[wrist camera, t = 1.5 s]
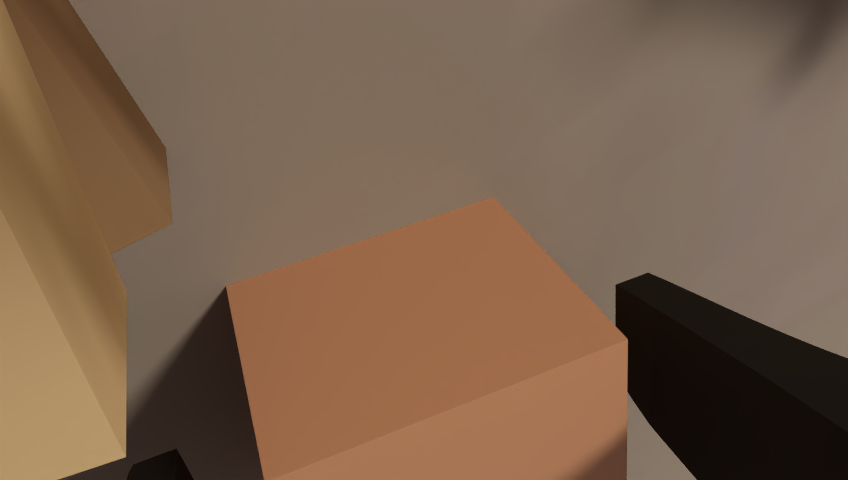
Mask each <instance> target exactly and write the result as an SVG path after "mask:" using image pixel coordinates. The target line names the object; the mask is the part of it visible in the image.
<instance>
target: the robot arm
mask: <svg viewBox="0 0 848 480" xmlns="http://www.w3.org/2000/svg"><path fill="white" fill-rule="evenodd" d="M616 327H617V328H618V329H619V330H620V331H621V333H622V334H623V335H624V336H625V337H626V338H627V339H628V377H627V392H628V393H629V395H630V396H631V398H632V399H633V401H634V402H635V404H636V405H637V407H638V408H639V410H640V411H641V413H642V414H643V416H644V417H645V418H646V420H647V421H648V423H649V424H650V425H651V427H652V428H653V429H654V430H655V431H656V433H657V434H658V435H659V436H660V437H661V438H662V440H663V441H664V442H665V443H666V444H667V445H668V447H669V448H670V449H671V450H672V451H673V452H674V454H675V455H676V456H677V457H678V458H679V459H680V461H681V462H682V463H683V464H684V465H685V466H686V468H687V469H688V470H689V471H690V472H691V473H692V474H693V476H694V477H695V478H696V479H697V480H848V358H845V357H842V356H840V355H837V354H834V353H832V352H829V351H827V350H824V349H821V348H819V347H816V346H814V345H811V344H809V343H806V342H804V341H801V340H799V339H796V338H794V337H792V336H789V335H787V334H784V333H782V332H780V331H777V330H775V329H773V328H770V327H768V326H766V325H763V324H761V323H759V322H757V321H754V320H752V319H750V318H747V317H745V316H743V315H741V314H739V313H736V312H734V311H732V310H730V309H727V308H725V307H723V306H721V305H719V304H717V303H714V302H712V301H710V300H708V299H706V298H703V297H701V296H699V295H697V294H695V293H693V292H690V291H688V290H686V289H684V288H682V287H679V286H677V285H675V284H673V283H671V282H668V281H666V280H664V279H662V278H659V277H657V276H654V275H652V274H650V273H646V274H643V275H641V276H638V277H635V278H633V279H630V280H627V281H625V282H622V283H619V284H617V285H616ZM127 480H194V479H193V477H192V476H191V474H190V472H189V470H188V468H187V467H186V465H185V463H184V461H183V459H182V458H181V456H180V454H179V452H178V450H177V449H174V450H171V451H169V452H166V453H163V454H161V455H158V456H155V457H153V458H150V459H147V460H145V461H142V462H139V463H137V464H134V465H133V467H132V468H131V470H130V472H129V474H128V477H127Z"/></svg>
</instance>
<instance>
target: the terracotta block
mask: <svg viewBox="0 0 848 480" xmlns="http://www.w3.org/2000/svg"><path fill="white" fill-rule="evenodd" d="M226 289H227V294H228V299H229V304H230V309H231V315H232V320H233V325H234V330H235V335H236V340H237V345H238V350H239V355H240V360H241V365H242V370H243V375H244V380H245V386H246V391H247V396H248V401H249V406H250V411H251V416H252V421H253V426H254V431H255V436H256V441H257V446H258V451H259V457H260V462H261V467H262V472H263V477H264V480H626V475H627V377H628V339H627V338H626V337H625V336H624V335H623V334H622V333H621V331H620V330H619V329H618V328H617V327H616V326H615V325H614V324H613V323H612V322H611V321H610V320H609V319H608V318H607V317H606V316H605V315H604V314H603V312H602V311H601V310H600V309H599V308H598V307H597V306H596V305H595V304H594V303H593V302H592V301H591V300H590V299H589V298H588V297H587V296H586V294H585V293H584V292H583V291H582V290H581V289H580V288H579V287H578V286H577V285H576V284H575V283H574V282H573V281H572V280H571V279H570V278H569V277H568V275H567V274H566V273H565V272H564V271H563V270H562V269H561V268H560V267H559V266H558V265H557V264H556V263H555V262H554V261H553V260H552V259H551V258H550V256H549V255H548V254H547V253H546V252H545V251H544V250H543V249H542V248H541V247H540V246H539V245H538V244H537V243H536V242H535V241H534V240H533V238H532V237H531V236H530V235H529V234H528V233H527V232H526V231H525V230H524V229H523V228H522V227H521V226H520V225H519V224H518V223H517V222H516V221H515V219H514V218H513V217H512V216H511V215H510V214H509V213H508V212H507V211H506V210H505V209H504V208H503V207H502V206H501V205H500V204H499V203H498V202H497V200H496V199H495V198H494V197H493V198H490V199H487V200H484V201H481V202H478V203H475V204H472V205H469V206H466V207H463V208H460V209H457V210H454V211H450V212H447V213H444V214H441V215H438V216H435V217H432V218H429V219H426V220H423V221H420V222H417V223H414V224H411V225H408V226H405V227H402V228H399V229H396V230H393V231H390V232H387V233H384V234H381V235H378V236H375V237H372V238H369V239H366V240H363V241H360V242H357V243H354V244H351V245H348V246H345V247H342V248H339V249H336V250H333V251H330V252H327V253H324V254H321V255H318V256H315V257H312V258H309V259H306V260H303V261H300V262H297V263H294V264H291V265H288V266H285V267H282V268H279V269H276V270H273V271H270V272H267V273H264V274H261V275H258V276H255V277H252V278H249V279H246V280H243V281H240V282H237V283H234V284H231V285H228V286H226Z"/></svg>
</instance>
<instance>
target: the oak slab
mask: <svg viewBox="0 0 848 480" xmlns="http://www.w3.org/2000/svg"><path fill="white" fill-rule="evenodd" d="M126 357H127V292H126V289H125V287H124V285H123V282H122V280H121V278H120V275H119V273H118V271H117V268H116V266H115V263H114V261H113V259H112V256H111V254H110V252H109V250H108V247H107V245H106V243H105V240H104V238H103V236H102V233H101V231H100V228H99V226H98V224H97V221H96V219H95V217H94V214H93V212H92V210H91V207H90V205H89V202H88V200H87V198H86V195H85V193H84V191H83V188H82V186H81V184H80V181H79V179H78V176H77V174H76V172H75V169H74V167H73V165H72V162H71V160H70V158H69V155H68V153H67V150H66V148H65V146H64V143H63V141H62V139H61V136H60V134H59V132H58V129H57V127H56V124H55V122H54V120H53V117H52V115H51V113H50V110H49V108H48V106H47V103H46V101H45V98H44V96H43V94H42V91H41V89H40V87H39V84H38V82H37V80H36V77H35V75H34V72H33V70H32V68H31V65H30V63H29V61H28V58H27V56H26V54H25V51H24V49H23V46H22V44H21V42H20V39H19V37H18V35H17V32H16V30H15V28H14V25H13V23H12V20H11V18H10V16H9V13H8V11H7V9H6V6H5V4H4V2H3V0H0V480H58V479H61V478H64V477H67V476H70V475H73V474H76V473H79V472H82V471H85V470H88V469H91V468H95V467H98V466H101V465H104V464H107V463H110V462H113V461H116V460H119V459H122V458H125V457H126Z"/></svg>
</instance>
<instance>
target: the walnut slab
mask: <svg viewBox="0 0 848 480" xmlns="http://www.w3.org/2000/svg"><path fill="white" fill-rule="evenodd" d="M3 2H4V4H5V6H6V9H7V11H8V13H9V16H10V18H11V20H12V23H13V25H14V28H15V30H16V32H17V35H18V37H19V39H20V42H21V44H22V46H23V49H24V51H25V54H26V56H27V58H28V61H29V63H30V65H31V68H32V70H33V72H34V75H35V77H36V80H37V82H38V84H39V87H40V89H41V91H42V94H43V96H44V98H45V101H46V103H47V106H48V108H49V110H50V113H51V115H52V117H53V120H54V122H55V124H56V127H57V129H58V132H59V134H60V136H61V139H62V141H63V143H64V146H65V148H66V150H67V153H68V155H69V158H70V160H71V162H72V165H73V167H74V169H75V172H76V174H77V176H78V179H79V181H80V184H81V186H82V188H83V191H84V193H85V195H86V198H87V200H88V202H89V205H90V207H91V210H92V212H93V214H94V217H95V219H96V221H97V224H98V226H99V228H100V231H101V233H102V236H103V238H104V240H105V243H106V245H107V247H108V250H109V252H110V254H112V253H114V252H116V251H118V250H120V249H122V248H124V247H126V246H128V245H130V244H132V243H134V242H136V241H138V240H140V239H142V238H144V237H146V236H148V235H150V234H152V233H154V232H156V231H158V230H160V229H162V228H164V227H166V226H168V225H170V224H172V212H171V201H170V190H169V179H168V168H167V157H166V148H165V146H164V145H163V143H162V142H161V140H160V139H159V137H158V136H157V134H156V133H155V131H154V129H153V128H152V126H151V125H150V123H149V122H148V120H147V119H146V117H145V116H144V114H143V113H142V111H141V110H140V108H139V107H138V105H137V104H136V102H135V101H134V99H133V98H132V96H131V95H130V93H129V92H128V90H127V89H126V87H125V86H124V84H123V83H122V81H121V80H120V78H119V76H118V75H117V73H116V72H115V70H114V69H113V67H112V66H111V64H110V63H109V61H108V60H107V58H106V57H105V55H104V54H103V52H102V51H101V49H100V48H99V46H98V45H97V43H96V42H95V40H94V39H93V37H92V36H91V34H90V33H89V31H88V30H87V28H86V27H85V25H84V23H83V22H82V20H81V19H80V17H79V16H78V14H77V13H76V11H75V10H74V8H73V7H72V5H71V4H70V2H69V1H68V0H3Z"/></svg>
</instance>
